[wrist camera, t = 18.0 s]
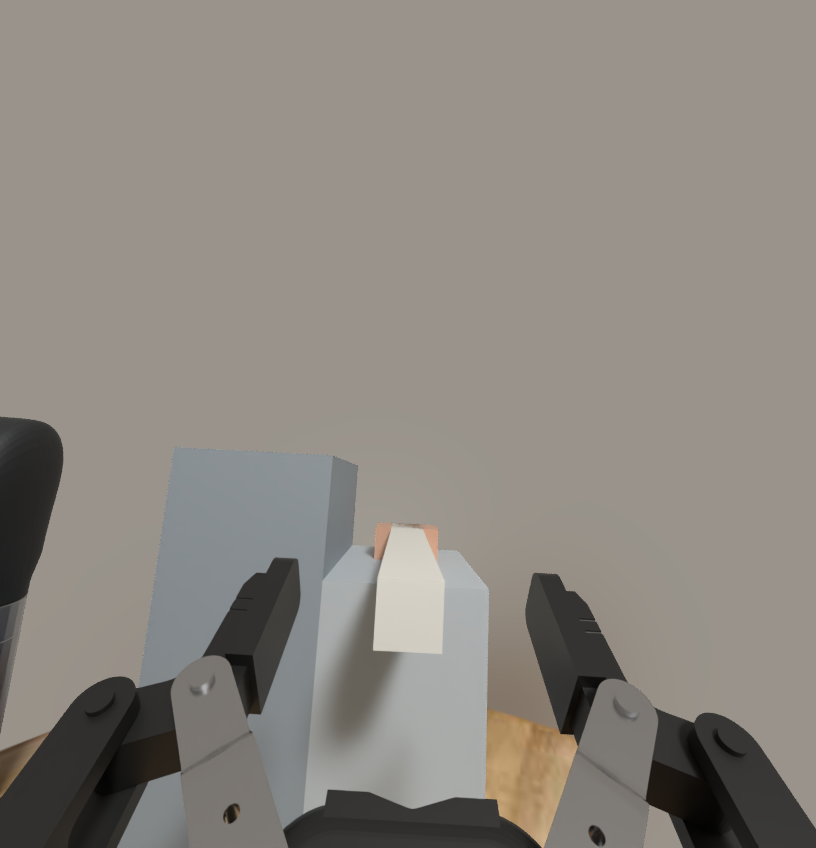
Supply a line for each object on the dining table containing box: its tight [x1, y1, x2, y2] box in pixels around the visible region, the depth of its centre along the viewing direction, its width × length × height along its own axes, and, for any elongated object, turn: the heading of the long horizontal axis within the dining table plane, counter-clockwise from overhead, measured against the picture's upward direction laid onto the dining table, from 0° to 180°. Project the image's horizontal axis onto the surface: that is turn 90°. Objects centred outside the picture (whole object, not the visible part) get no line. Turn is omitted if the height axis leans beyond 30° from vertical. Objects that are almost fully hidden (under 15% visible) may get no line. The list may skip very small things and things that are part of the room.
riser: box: [117, 447, 489, 848], centre depth 34 cm, size 16×24×31 cm, turn 91°
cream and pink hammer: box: [373, 522, 445, 654], centre depth 29 cm, size 24×6×3 cm, turn 1°
